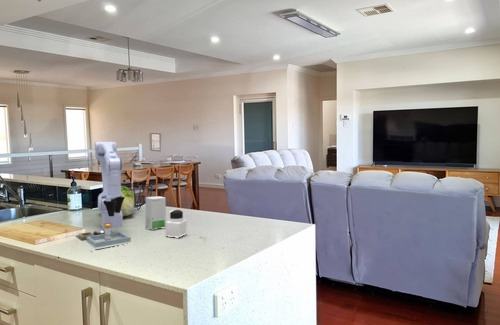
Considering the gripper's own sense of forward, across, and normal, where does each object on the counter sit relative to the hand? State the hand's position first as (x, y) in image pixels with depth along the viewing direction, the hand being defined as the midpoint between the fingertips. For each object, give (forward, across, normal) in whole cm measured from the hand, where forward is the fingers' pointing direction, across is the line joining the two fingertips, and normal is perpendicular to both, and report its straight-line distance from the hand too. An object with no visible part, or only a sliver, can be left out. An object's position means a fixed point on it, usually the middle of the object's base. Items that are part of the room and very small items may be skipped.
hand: (114, 214), depth 175 cm
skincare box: (+11, -18, +14) cm, 25 cm away
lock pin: (+10, +10, +1) cm, 14 cm away
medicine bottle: (+11, -4, +27) cm, 29 cm away
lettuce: (+10, -43, -14) cm, 46 cm away
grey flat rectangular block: (+10, +3, -8) cm, 13 cm away
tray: (+10, +11, +1) cm, 15 cm away
